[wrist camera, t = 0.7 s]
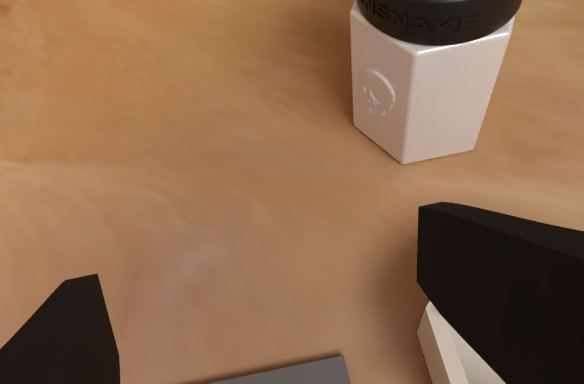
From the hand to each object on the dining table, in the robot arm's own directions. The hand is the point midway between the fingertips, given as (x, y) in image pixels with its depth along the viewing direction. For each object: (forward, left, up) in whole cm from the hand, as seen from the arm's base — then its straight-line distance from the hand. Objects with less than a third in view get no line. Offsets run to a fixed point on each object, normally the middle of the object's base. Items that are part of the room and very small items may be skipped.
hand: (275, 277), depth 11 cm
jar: (+16, -10, -16) cm, 25 cm away
